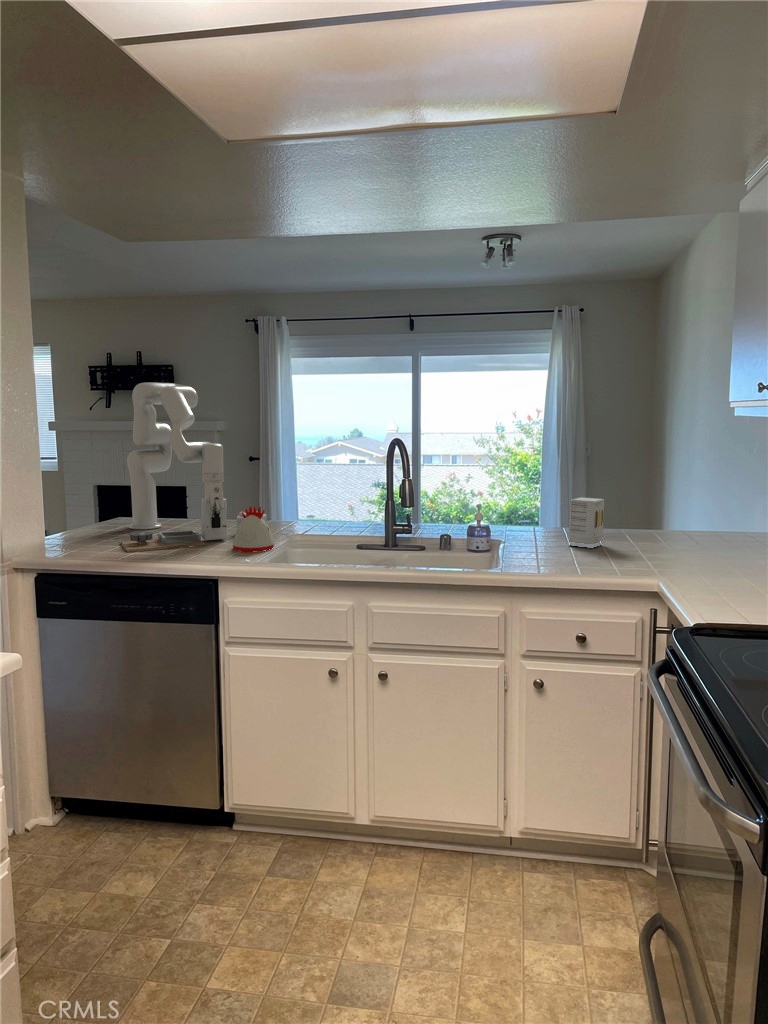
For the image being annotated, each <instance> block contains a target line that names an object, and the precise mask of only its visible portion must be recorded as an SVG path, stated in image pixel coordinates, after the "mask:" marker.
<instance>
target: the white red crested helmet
mask: <svg viewBox="0 0 768 1024" xmlns="http://www.w3.org/2000/svg"><path fill="white" fill-rule="evenodd" d="M261 508H262V506H258V509H257V508H256V505H253V507H252V505H249V509H248V508H245V512H244V511H241V512H242V515H243V517H244V519H243V520H242V522H241V523H240V524H239V526H238V528H237V527H236V530H235V534H234V538H233V541H232V549H234V550H233V551H235V550H236V551H235V552H238V551H242V552H241V553H254V552H253V551H263V550H269V549H272V548H273V547H274V548H275V544H274V538H273V534H272V531H271V528H270V527H269V525H268V523H267V524H266V522H265V521H264V520H263V519H262V516H263V514H265V512H266V510H265V509H264V510H262V509H261ZM257 511H258V512H257ZM243 512H244V513H246V515H245V514H244V513H243ZM261 512H262V513H261ZM274 548H273V549H274ZM273 549H272V550H273ZM269 551H270V550H269Z"/></svg>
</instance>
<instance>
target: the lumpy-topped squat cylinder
mask: <svg viewBox="0 0 768 1024" xmlns="http://www.w3.org/2000/svg"><path fill="white" fill-rule="evenodd" d="M256 511H257V512H258V510H256ZM242 512H243V513H244V514H245V515H246V512H244V511H240V512H238V515H237V516H236V529H237V528H238V526H239V524H240V523H241V522H242V520H243V519H244V517H243V515H242ZM262 512H263V511H261V513H262ZM262 519H263V520H264V521H265V522H266V524H267V525H268V521H267V520H268V518H267V514H266V513H264V514H263V516H262Z"/></svg>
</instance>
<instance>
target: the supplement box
mask: <svg viewBox="0 0 768 1024" xmlns="http://www.w3.org/2000/svg"><path fill="white" fill-rule="evenodd" d="M604 514H605V499H604V498H592V497H577V498H572V499H570V500H569V519H568V520H569V525H568V543H569V542H575V543H584V544H595V543H598V542H600V541H602V542H603V535H604V534H603V533H604Z"/></svg>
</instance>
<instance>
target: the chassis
mask: <svg viewBox="0 0 768 1024" xmlns="http://www.w3.org/2000/svg"><path fill="white" fill-rule="evenodd" d="M141 534H145V533H139V535H141ZM201 538H202V537H201V534H200V533H199V532H197V531H196V530H178V531H163V532H157V537H152V540H146V541H131V540H130V539H128V540H127V539H125V540H120V544H121V546H122V545H123V546H122V547H123V549H124V548H125V549H124V550H125V552H126V551H127V552H126V553H131V552H130V551H137V552H145V551H144V550H150V551H157V550H156V549H162V550H169V549H168V548H174V549H181V548H180V547H187V548H190V547H189V546H199V547H205V542H203V540H202V539H201Z"/></svg>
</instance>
